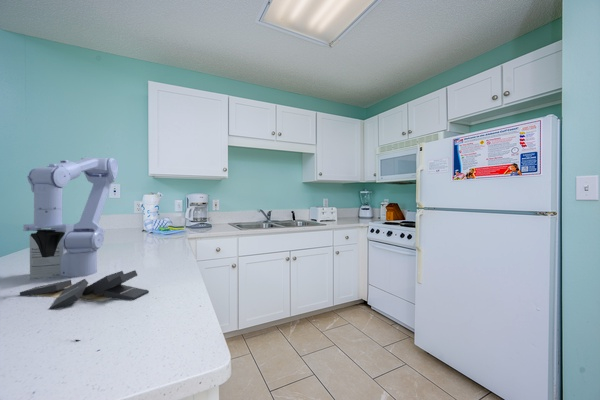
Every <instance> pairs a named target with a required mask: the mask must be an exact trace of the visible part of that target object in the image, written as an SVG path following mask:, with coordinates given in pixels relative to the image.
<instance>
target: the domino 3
mask: <svg viewBox="0 0 600 400" xmlns="http://www.w3.org/2000/svg"><path fill="white" fill-rule="evenodd" d="M123 274H125V273H124V271H123V270H121V271H117V272H113V273H111V274H108V275H105V276H104V277H102V278H100V279H98V280H97V281H94V282H93V283H91V284H88V286H87V287H86V288H85V290H84V291H83V293H82V295H86V294H88V293H91V292H94V289H96V288H98V287H100V286H101V285H103V284H105V283H107V282H109V281H111V280H113V279H114V278H116V277H118V276H120V275H123Z"/></svg>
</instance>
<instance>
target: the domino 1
mask: <svg viewBox="0 0 600 400" xmlns="http://www.w3.org/2000/svg"><path fill="white" fill-rule="evenodd" d="M72 284H73V283H72V280H71V279H68V280H67V279H66V280H64V281H59V282H58V281H57V282H54V283H53V282H52V283H49V284H45V285H44V284H43V285H39V286H35V287H33V288H29V289H26V290H23V291H20V292H19V296H25V297H27V296H35V295H39V294H43V293H48V292H53V291H57V290H60V289H63V288H65V287H68V286H71V285H72Z"/></svg>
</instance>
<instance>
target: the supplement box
mask: <svg viewBox="0 0 600 400" xmlns="http://www.w3.org/2000/svg"><path fill="white" fill-rule="evenodd" d="M66 233H67V232H65V234H66ZM65 234H64V235H65ZM62 238H63V237H62ZM62 238H61V240H60V242H59V244H58V246H57V248H56V251H55V254H54V256H52V257H47V258H44V257H42V255H41V253H40V250H39V247H38V245H37V243H36V242H35V240H34V239H33V238H32V237H31V234H29V279H30V280H35V279H48V278H53V277H58V276H61V258H62V256H63V255H64V254H65V253H66V252H67V250H65V249H64V248H63V246H62Z"/></svg>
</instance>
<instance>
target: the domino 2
mask: <svg viewBox="0 0 600 400" xmlns="http://www.w3.org/2000/svg"><path fill="white" fill-rule="evenodd" d="M87 285H88V286H89V282H88V281H87V279H86V278H83V279H82V280H80V281H78V282H75V283H74V284H73V285H72V286H70V287H68V288H66V289H64V290H63V292H62V293H61V294H60V295H59V297H58V298H56V300H55V301H54V302H53V303H52V305H51V306H50V309H51V310H56V309H60V308H66V307H68V306H70V305H71V304H73V303H76V302H78V301H79V298H80V296H81V295H82V293H83V291H84V290H85V288H86V287H87Z"/></svg>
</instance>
